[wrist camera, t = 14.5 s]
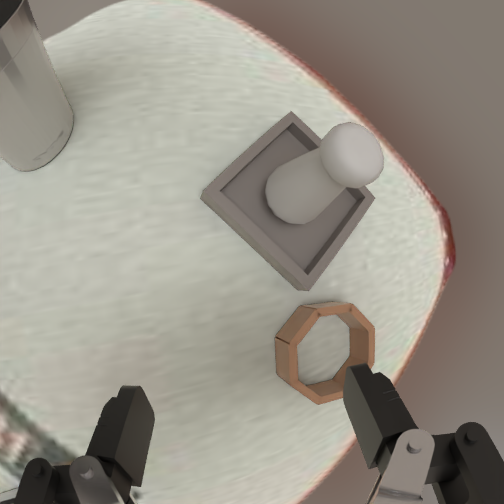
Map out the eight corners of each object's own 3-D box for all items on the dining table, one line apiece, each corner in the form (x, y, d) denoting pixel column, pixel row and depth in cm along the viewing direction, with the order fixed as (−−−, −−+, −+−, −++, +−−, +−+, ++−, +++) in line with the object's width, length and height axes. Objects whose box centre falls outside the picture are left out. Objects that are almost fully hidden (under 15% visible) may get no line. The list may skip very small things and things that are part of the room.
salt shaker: (311, 176, 29) (391, 120, 17) (313, 230, 29) (404, 198, 16) (257, 169, 28) (319, 97, 15) (257, 226, 27) (327, 184, 15)
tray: (200, 198, 27) (203, 190, 25) (282, 122, 30) (291, 111, 28) (297, 290, 29) (308, 290, 26) (362, 203, 32) (375, 197, 30)
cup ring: (256, 358, 27) (267, 368, 24) (316, 284, 29) (333, 284, 26) (318, 404, 28) (334, 416, 25) (369, 337, 31) (388, 341, 27)
